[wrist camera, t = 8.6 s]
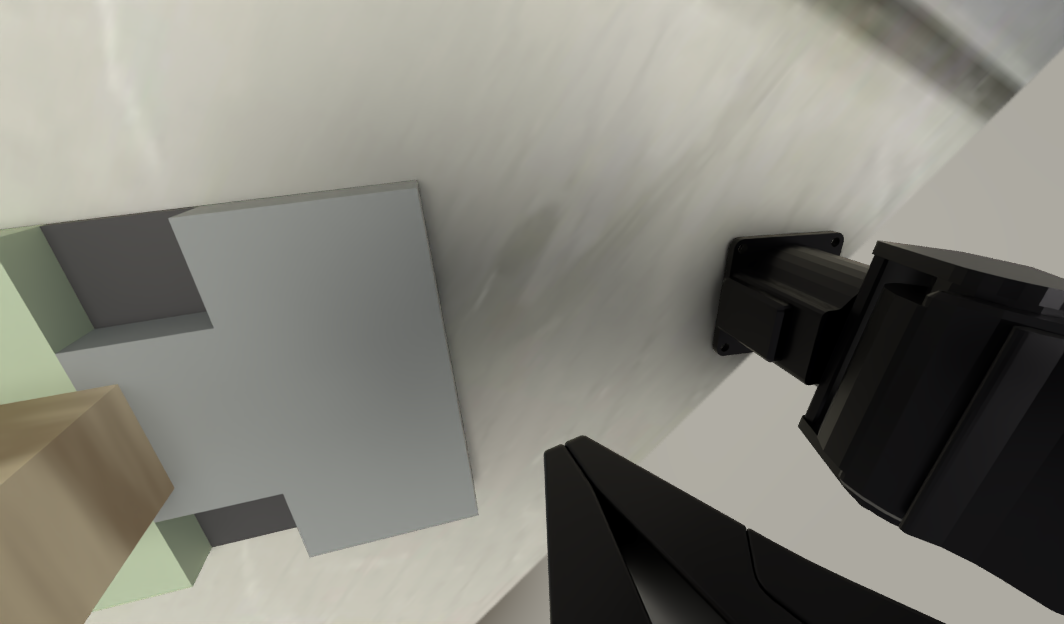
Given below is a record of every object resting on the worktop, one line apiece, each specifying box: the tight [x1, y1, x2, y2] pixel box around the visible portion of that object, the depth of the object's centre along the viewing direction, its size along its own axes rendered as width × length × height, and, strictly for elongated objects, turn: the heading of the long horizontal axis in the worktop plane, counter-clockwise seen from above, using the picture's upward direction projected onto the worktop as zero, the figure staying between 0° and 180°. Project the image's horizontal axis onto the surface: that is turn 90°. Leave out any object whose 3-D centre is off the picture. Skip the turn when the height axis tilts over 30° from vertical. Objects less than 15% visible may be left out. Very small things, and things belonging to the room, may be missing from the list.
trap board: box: [0, 180, 478, 612], centre depth 18 cm, size 18×16×4 cm
